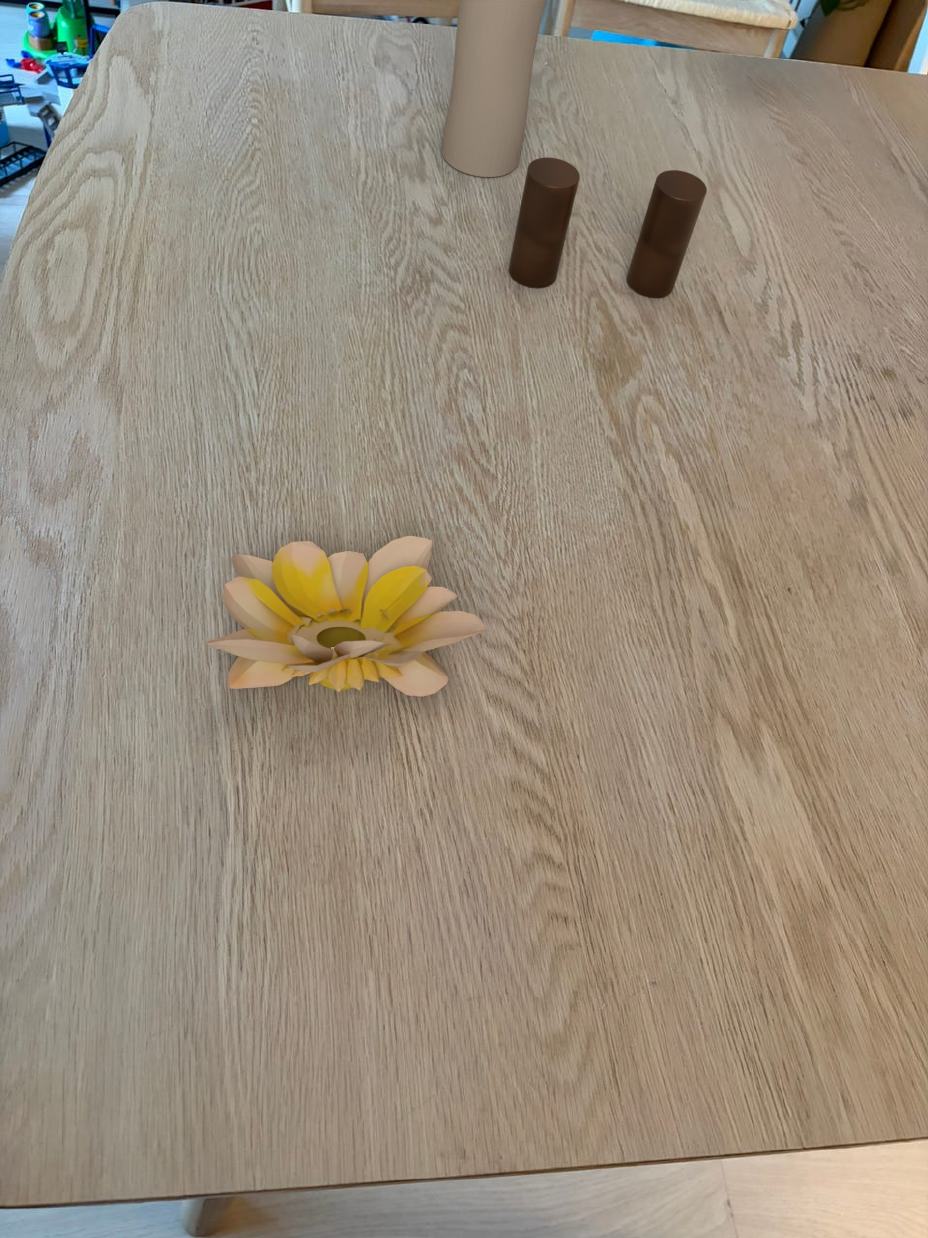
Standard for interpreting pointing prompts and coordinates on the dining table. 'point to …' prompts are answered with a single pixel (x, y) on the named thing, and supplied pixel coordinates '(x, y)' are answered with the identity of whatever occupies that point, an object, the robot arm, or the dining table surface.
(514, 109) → the candle
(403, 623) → the decorative flower
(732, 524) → the dining table surface
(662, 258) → the marker row
